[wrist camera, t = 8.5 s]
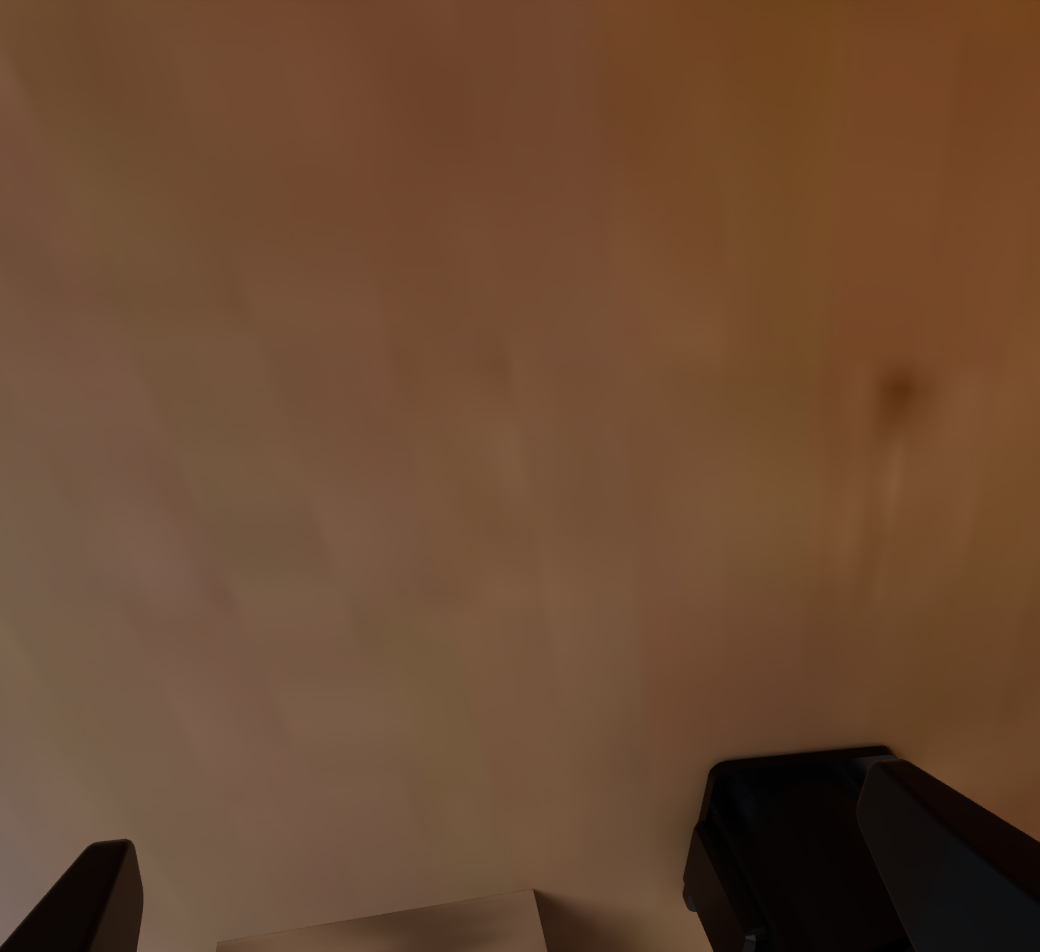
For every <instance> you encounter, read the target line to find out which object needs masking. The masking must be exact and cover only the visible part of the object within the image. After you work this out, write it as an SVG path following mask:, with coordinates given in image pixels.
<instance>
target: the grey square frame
mask: <svg viewBox="0 0 1040 952" xmlns="http://www.w3.org/2000/svg"><path fill="white" fill-rule="evenodd" d="M216 952H547V948H546V943H545V939H544V935H543V930H542V926H541V922H540V917H539V913H538V909H537V904H536V900H535V896H534V891H533V889H530V890H524V891H518V892H512V893H506V894H500V895H494V896H488V897H483V898H477V899H471V900H465V901H459V902H453V903H447V904H441V905H435V906H429V907H424V908H418V909H412V910H406V911H400V912H394V913H388V914H382V915H376V916H371V917H365V918H359V919H353V920H347V921H341V922H335V923H329V924H323V925H317V926H312V927H306V928H300V929H294V930H288V931H282V932H276V933H270V934H264V935H259V936H253V937H247V938H241V939H235V940H229V941H223V942H217V949H216Z"/></svg>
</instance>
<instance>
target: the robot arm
mask: <svg viewBox="0 0 1040 952" xmlns="http://www.w3.org/2000/svg"><path fill="white" fill-rule="evenodd" d="M683 880H684V883H685V885H684V890H683V899H684V901H685V904H686V906H687V908H688V909H689V910H690V911H692V912H697V914H698V916H699V918H700V921H701V923H702V925H703V928H704V930H705V933H706V935H707V937H708V940H709V942H710V944H711V947H712V949H713V952H1040V842H1038V841H1037V840H1035V839H1034V838H1032V837H1030V836H1029V835H1027V834H1025V833H1024V832H1022V831H1021V830H1019V829H1017V828H1016V827H1014V826H1012V825H1011V824H1009V823H1008V822H1006V821H1004V820H1003V819H1001V818H1000V817H998V816H996V815H995V814H993V813H991V812H990V811H988V810H987V809H985V808H983V807H982V806H980V805H978V804H977V803H975V802H974V801H972V800H970V799H969V798H967V797H965V796H964V795H962V794H961V793H959V792H957V791H956V790H954V789H952V788H951V787H949V786H948V785H946V784H944V783H943V782H941V781H940V780H938V779H936V778H935V777H933V776H931V775H930V774H928V773H927V772H925V771H923V770H922V769H920V768H918V767H917V766H915V765H914V764H912V763H910V762H908V761H906V760H903V759H897V757H896V756H895V755H894V753H893V752H892V751H891V750H890V748H888V747H886V746H875V747H865V748H855V749H845V750H834V751H824V752H814V753H803V754H793V755H783V756H773V757H762V758H752V759H742V760H732V761H724V762H720V763H718V764H717V765H715V766H714V767H713V768H712V769H711V770H710V772H709V775H708V779H707V784H706V789H705V793H704V798H703V802H702V807H701V812H700V816H699V821H698V822H697V824H696V826H695V827H694V830H693V834H692V839H691V844H690V848H689V853H688V858H687V862H686V867H685V871H684V876H683ZM142 912H143V887H142V881H141V876H140V871H139V866H138V860H137V855H136V850H135V846H134V844H133V843H132V841H131V840H128V839H120V840H110V841H100V842H95V843H93V844H91V845H89V846H88V847H87V848H86V849H85V850H84V851H83V852H82V853H81V854H80V856H79V857H78V858H77V859H76V860H75V861H74V863H73V864H72V865H71V866H70V867H69V868H68V869H67V871H66V872H65V873H64V874H63V875H62V876H61V878H60V879H59V880H58V881H57V882H56V883H55V884H54V886H53V887H52V888H51V889H50V890H49V891H48V892H47V894H46V895H45V896H44V897H43V898H42V899H41V901H40V902H39V903H38V904H37V905H36V906H35V907H34V909H33V910H32V911H31V912H30V913H29V914H28V916H27V917H26V918H25V919H24V920H23V921H22V922H21V924H20V925H19V926H18V927H17V928H16V929H15V931H14V932H13V933H12V934H11V935H10V936H9V937H8V939H7V940H6V941H5V942H4V943H3V944H2V946H1V947H0V952H137V945H138V939H139V932H140V926H141V919H142Z"/></svg>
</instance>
